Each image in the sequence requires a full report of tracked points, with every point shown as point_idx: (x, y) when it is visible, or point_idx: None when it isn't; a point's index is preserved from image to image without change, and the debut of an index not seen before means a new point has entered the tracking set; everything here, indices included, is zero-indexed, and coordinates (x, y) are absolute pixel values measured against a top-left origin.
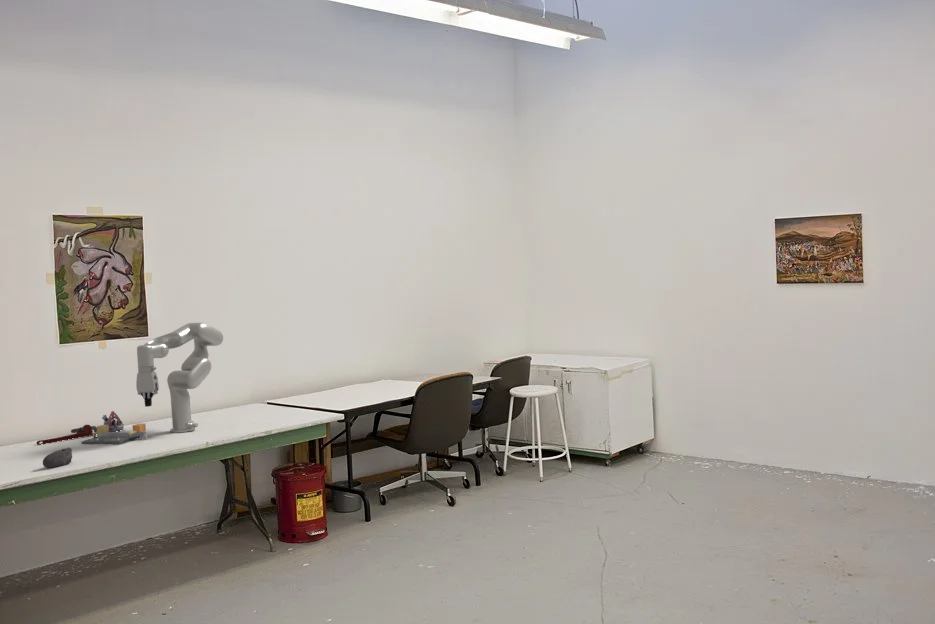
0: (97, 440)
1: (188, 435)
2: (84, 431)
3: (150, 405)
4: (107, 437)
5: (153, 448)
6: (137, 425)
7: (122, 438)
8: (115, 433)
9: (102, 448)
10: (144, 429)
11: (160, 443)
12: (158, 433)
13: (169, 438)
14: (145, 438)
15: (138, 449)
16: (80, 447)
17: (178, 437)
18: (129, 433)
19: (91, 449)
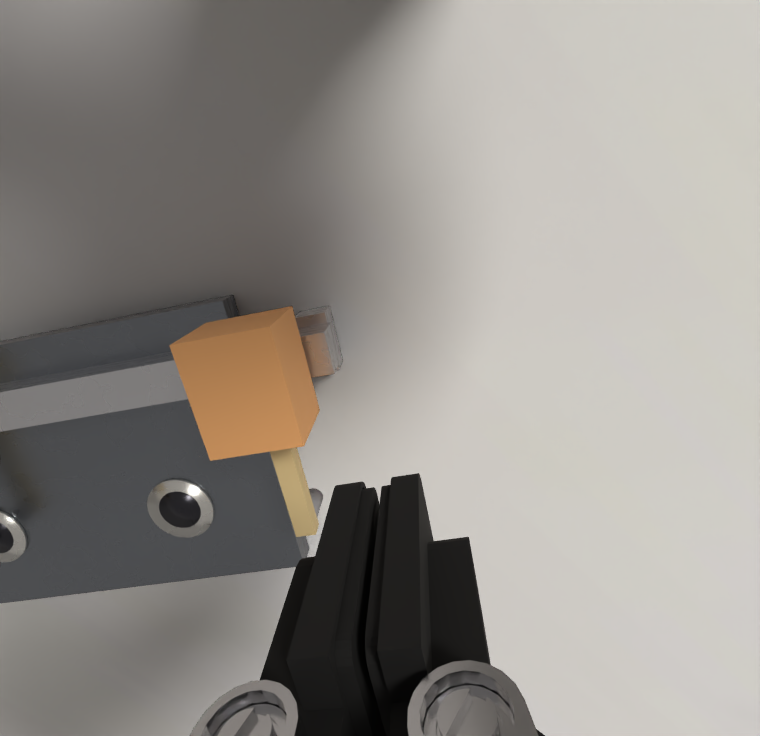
0: (63, 561)
1: (735, 59)
2: None
3: (427, 518)
4: (15, 453)
5: (729, 621)
6: (278, 449)
7: (206, 469)
8: (29, 423)
9: None
10: (295, 333)
11: (661, 469)
12: (225, 28)
13: (595, 262)
14: (333, 324)
15: (619, 657)
16: (91, 654)
17: (672, 194)
18: (313, 529)
19: None
